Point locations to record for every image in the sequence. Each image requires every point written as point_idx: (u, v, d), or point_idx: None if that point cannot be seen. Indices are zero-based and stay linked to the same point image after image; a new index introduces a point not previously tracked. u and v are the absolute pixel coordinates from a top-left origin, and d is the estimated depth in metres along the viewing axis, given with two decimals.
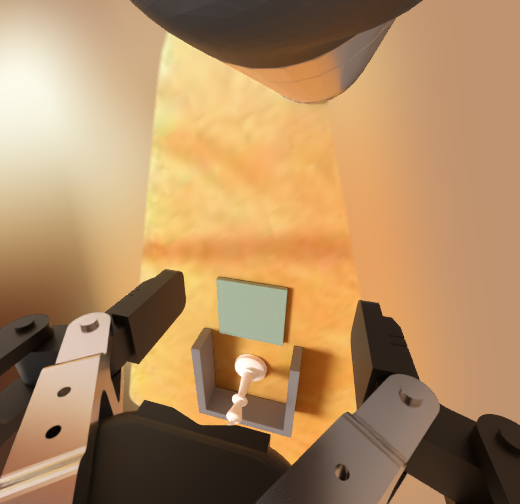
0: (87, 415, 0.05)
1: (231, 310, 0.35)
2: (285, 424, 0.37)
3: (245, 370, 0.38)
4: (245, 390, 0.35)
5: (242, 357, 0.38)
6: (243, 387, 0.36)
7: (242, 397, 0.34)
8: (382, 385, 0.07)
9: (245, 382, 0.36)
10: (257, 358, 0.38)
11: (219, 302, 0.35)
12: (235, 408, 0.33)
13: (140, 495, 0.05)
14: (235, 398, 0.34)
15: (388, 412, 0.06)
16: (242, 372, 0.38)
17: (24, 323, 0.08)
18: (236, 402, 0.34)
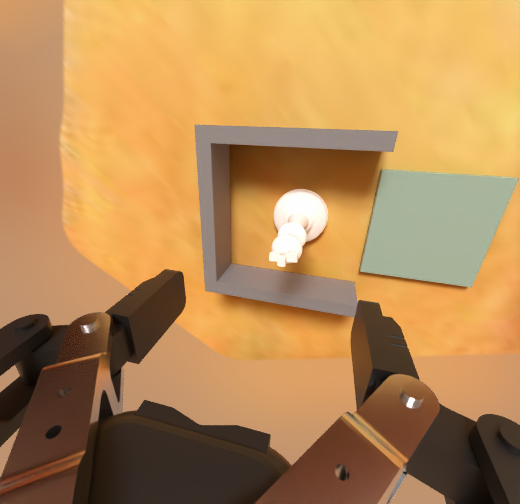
0: (87, 415, 0.05)
1: (439, 199, 0.20)
2: (232, 286, 0.24)
3: (308, 217, 0.22)
4: None
5: (325, 208, 0.23)
6: None
7: (303, 244, 0.19)
8: (382, 385, 0.07)
9: None
10: None
11: (460, 178, 0.19)
12: None
13: (141, 495, 0.05)
14: (299, 233, 0.19)
15: (388, 412, 0.06)
16: (304, 213, 0.22)
17: (24, 323, 0.08)
18: (297, 238, 0.18)
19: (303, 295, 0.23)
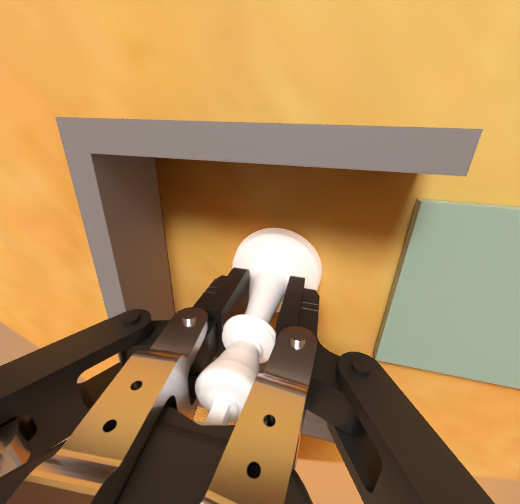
0: (138, 424, 0.05)
1: None
2: None
3: (287, 280, 0.13)
4: None
5: (316, 262, 0.13)
6: (271, 317, 0.11)
7: None
8: (277, 341, 0.08)
9: (276, 307, 0.12)
10: None
11: None
12: None
13: (140, 495, 0.05)
14: (262, 338, 0.09)
15: (273, 350, 0.08)
16: (280, 273, 0.13)
17: (130, 318, 0.08)
18: (257, 351, 0.09)
19: None
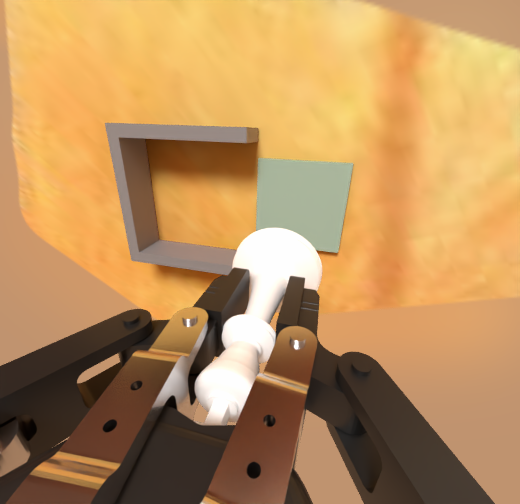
0: (138, 424, 0.05)
1: (301, 181, 0.26)
2: (151, 255, 0.30)
3: (288, 280, 0.13)
4: None
5: (316, 262, 0.13)
6: (271, 317, 0.11)
7: None
8: (277, 341, 0.08)
9: (276, 307, 0.12)
10: None
11: (313, 164, 0.25)
12: None
13: (140, 496, 0.05)
14: (262, 338, 0.09)
15: (273, 350, 0.08)
16: (280, 273, 0.13)
17: (130, 317, 0.08)
18: (256, 351, 0.09)
19: (205, 261, 0.28)
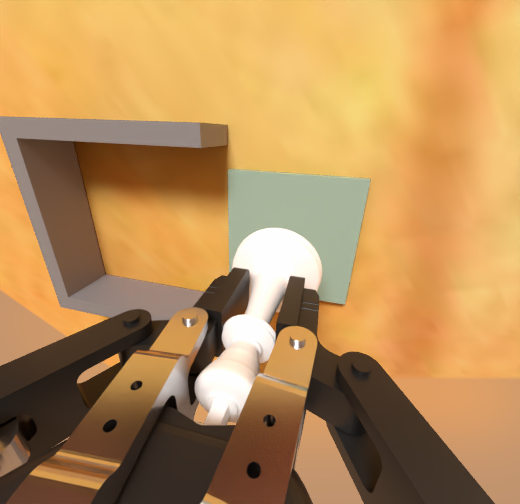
0: (138, 424, 0.05)
1: (292, 204, 0.17)
2: (84, 302, 0.21)
3: (287, 280, 0.13)
4: None
5: (316, 262, 0.13)
6: (271, 317, 0.11)
7: None
8: (276, 341, 0.08)
9: (276, 307, 0.12)
10: None
11: (309, 179, 0.16)
12: None
13: (140, 496, 0.05)
14: (262, 338, 0.09)
15: (273, 350, 0.08)
16: (280, 273, 0.13)
17: (130, 317, 0.08)
18: (256, 351, 0.09)
19: (157, 313, 0.20)
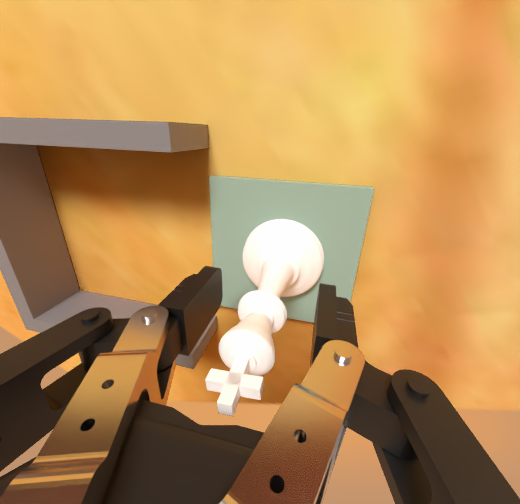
0: (118, 417, 0.05)
1: (283, 216, 0.15)
2: (51, 325, 0.19)
3: (293, 265, 0.14)
4: None
5: (319, 250, 0.15)
6: (279, 295, 0.12)
7: (280, 326, 0.11)
8: (319, 353, 0.08)
9: (283, 288, 0.13)
10: None
11: (302, 188, 0.14)
12: None
13: (141, 496, 0.05)
14: (274, 310, 0.11)
15: (319, 367, 0.07)
16: (287, 259, 0.14)
17: (89, 315, 0.09)
18: (269, 321, 0.10)
19: None
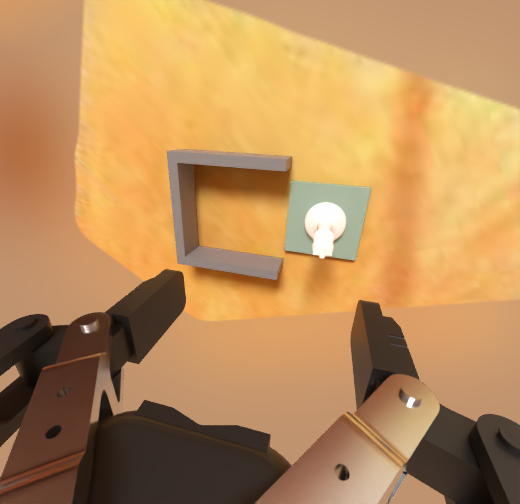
0: (87, 415, 0.05)
1: (327, 200, 0.31)
2: (195, 259, 0.35)
3: (332, 224, 0.30)
4: None
5: (344, 217, 0.30)
6: None
7: None
8: (382, 385, 0.07)
9: None
10: (341, 233, 0.32)
11: (337, 187, 0.30)
12: None
13: (141, 495, 0.05)
14: (329, 236, 0.26)
15: (388, 412, 0.06)
16: (329, 220, 0.30)
17: (23, 323, 0.08)
18: None
19: (243, 265, 0.34)
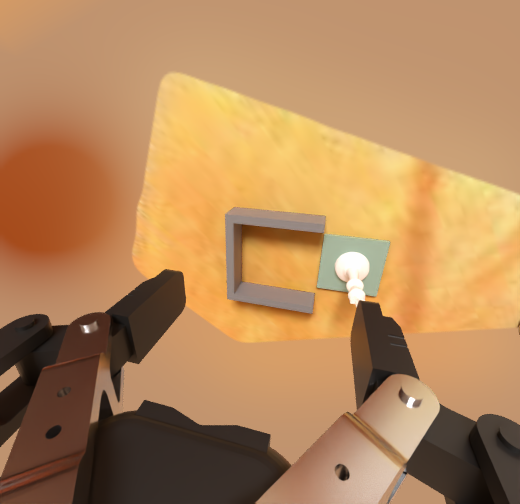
0: (87, 415, 0.05)
1: (353, 250, 0.38)
2: (243, 296, 0.42)
3: (359, 270, 0.37)
4: None
5: (368, 264, 0.38)
6: None
7: None
8: (382, 385, 0.07)
9: (357, 278, 0.36)
10: (365, 275, 0.39)
11: (362, 241, 0.37)
12: None
13: (140, 495, 0.05)
14: (360, 284, 0.34)
15: (388, 412, 0.06)
16: (357, 268, 0.37)
17: (23, 323, 0.08)
18: (359, 288, 0.33)
19: (283, 301, 0.41)
